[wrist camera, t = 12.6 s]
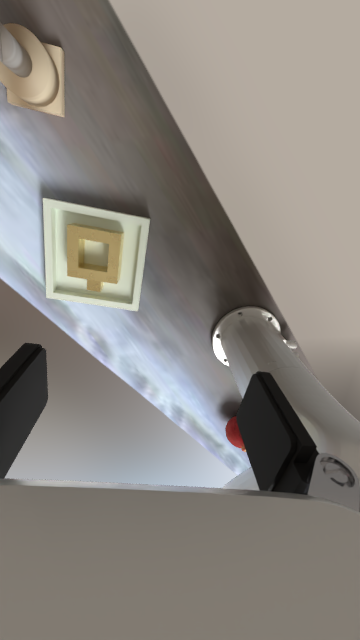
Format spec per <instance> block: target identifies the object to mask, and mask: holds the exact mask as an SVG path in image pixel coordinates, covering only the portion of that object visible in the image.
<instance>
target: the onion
mask: <svg viewBox="0 0 360 640" xmlns="http://www.w3.org/2000/svg"><path fill="white" fill-rule="evenodd" d="M225 429H226V436H227V439H228V440H229V441H230V442H231V443H232V444H233V445H234V446H236V447H238V448H242V451H244V452H246V449H245V446H244V443H243V440H242V437H241V434H240V431H239V428H238V425H237V422H236V416H234V417H233V418H231V419H230V420H229V421H228V423H227V425H226V428H225Z"/></svg>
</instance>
